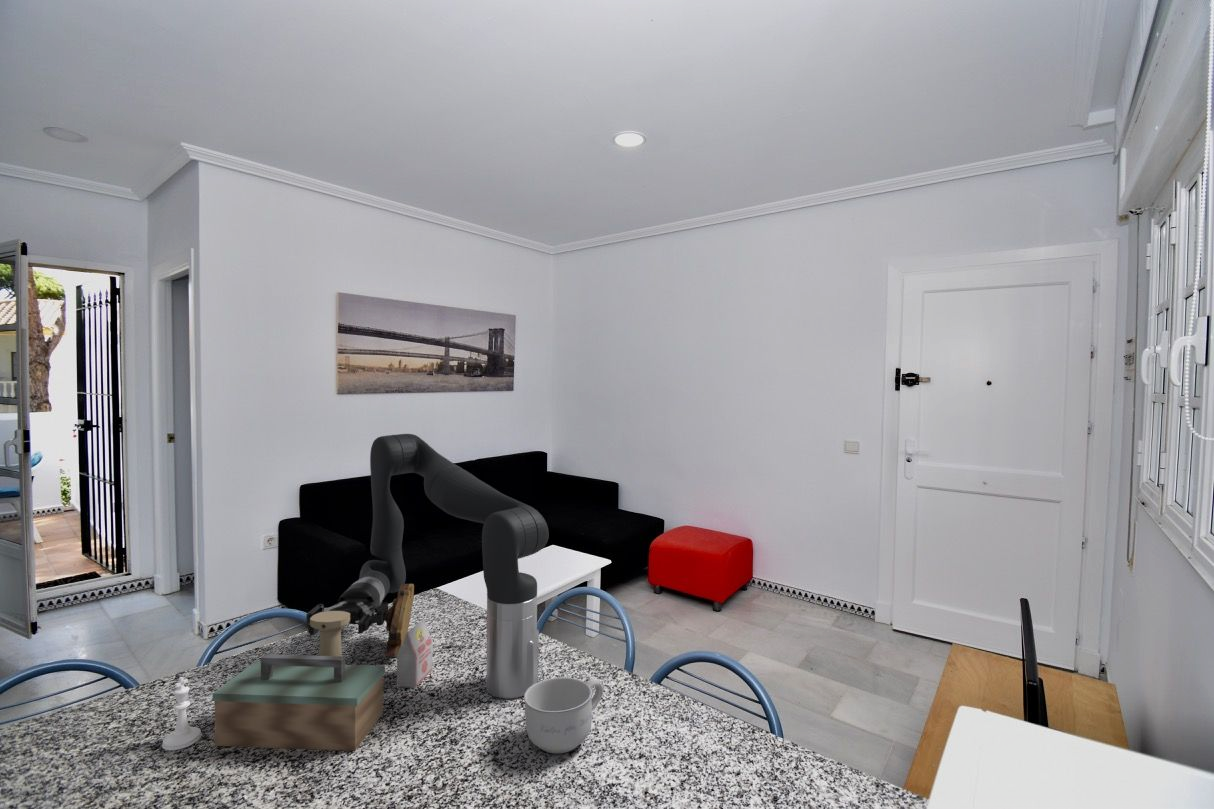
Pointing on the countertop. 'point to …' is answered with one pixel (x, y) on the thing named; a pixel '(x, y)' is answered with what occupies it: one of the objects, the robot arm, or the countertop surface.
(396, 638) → the wooden carving
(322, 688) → the toolbox
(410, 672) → the milk carton
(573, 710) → the teacup
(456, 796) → the countertop surface
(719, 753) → the countertop surface
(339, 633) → the handle
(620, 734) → the countertop surface
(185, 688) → the chess piece
